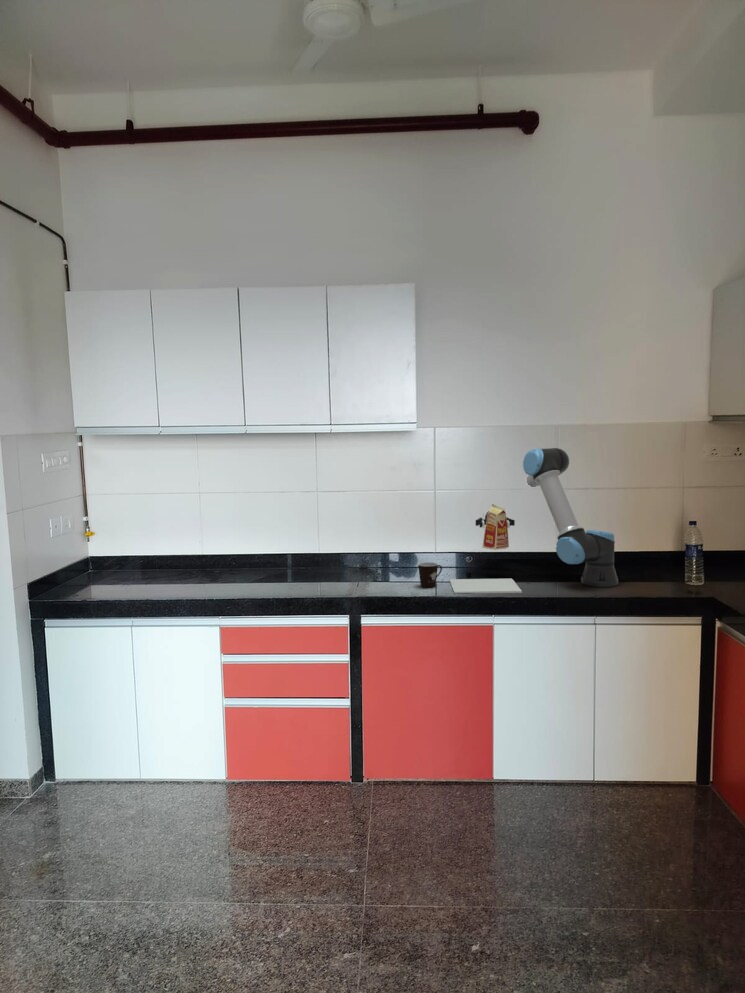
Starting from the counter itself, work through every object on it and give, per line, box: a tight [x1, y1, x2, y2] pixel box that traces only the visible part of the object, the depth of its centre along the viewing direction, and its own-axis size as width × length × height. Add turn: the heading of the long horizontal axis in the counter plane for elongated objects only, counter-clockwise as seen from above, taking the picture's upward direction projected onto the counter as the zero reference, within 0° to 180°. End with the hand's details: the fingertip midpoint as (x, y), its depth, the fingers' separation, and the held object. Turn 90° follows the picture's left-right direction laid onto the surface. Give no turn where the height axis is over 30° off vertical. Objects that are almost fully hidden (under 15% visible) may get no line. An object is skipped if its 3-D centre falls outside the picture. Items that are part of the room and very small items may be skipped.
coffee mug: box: [417, 561, 443, 589], centre depth 281 cm, size 12×9×10 cm
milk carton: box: [482, 504, 510, 551], centre depth 293 cm, size 9×9×20 cm
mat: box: [449, 578, 523, 594], centre depth 279 cm, size 28×23×1 cm
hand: (496, 525), depth 289 cm, fingers closed on milk carton, 10 cm apart
